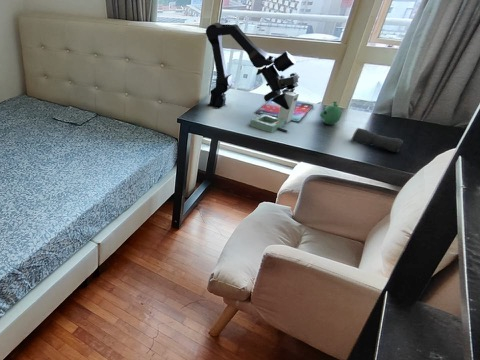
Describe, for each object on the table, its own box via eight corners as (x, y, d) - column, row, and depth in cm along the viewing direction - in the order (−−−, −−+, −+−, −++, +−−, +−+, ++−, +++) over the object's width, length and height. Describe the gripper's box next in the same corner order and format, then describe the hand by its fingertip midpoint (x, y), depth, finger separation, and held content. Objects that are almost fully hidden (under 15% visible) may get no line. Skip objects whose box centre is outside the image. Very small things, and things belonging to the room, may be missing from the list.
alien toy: (317, 119, 167) (324, 98, 162) (337, 122, 164) (344, 100, 159) (317, 125, 162) (324, 103, 157) (337, 128, 159) (345, 106, 154)
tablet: (255, 113, 176) (255, 111, 175) (272, 98, 191) (273, 96, 191) (299, 123, 165) (299, 121, 164) (313, 106, 180) (314, 104, 180)
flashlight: (400, 150, 141) (406, 137, 138) (396, 155, 138) (402, 142, 135) (354, 138, 150) (359, 126, 148) (349, 142, 148) (354, 130, 145)
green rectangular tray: (249, 125, 164) (251, 119, 163) (261, 119, 169) (263, 113, 168) (280, 136, 155) (282, 129, 153) (292, 129, 160) (294, 122, 158)
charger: (276, 120, 168) (283, 93, 161) (281, 117, 170) (289, 91, 163) (286, 123, 165) (294, 96, 158) (291, 120, 167) (299, 93, 160)
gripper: (277, 72, 153) (296, 104, 152) (299, 63, 163) (318, 93, 161) (255, 86, 163) (273, 116, 161) (277, 77, 172) (295, 106, 170)
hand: (290, 107), depth 163 cm, fingers closed on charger, 4 cm apart
